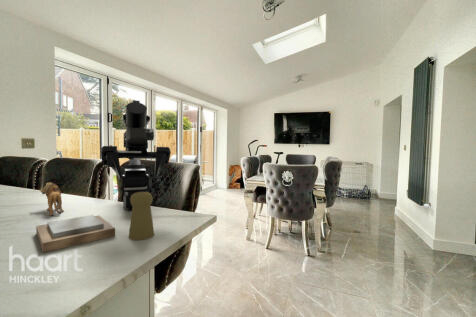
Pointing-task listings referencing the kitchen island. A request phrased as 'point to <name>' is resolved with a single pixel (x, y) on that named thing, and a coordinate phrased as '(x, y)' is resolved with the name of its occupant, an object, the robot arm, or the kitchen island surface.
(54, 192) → the lion figurine
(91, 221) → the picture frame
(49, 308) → the kitchen island surface
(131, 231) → the cork
